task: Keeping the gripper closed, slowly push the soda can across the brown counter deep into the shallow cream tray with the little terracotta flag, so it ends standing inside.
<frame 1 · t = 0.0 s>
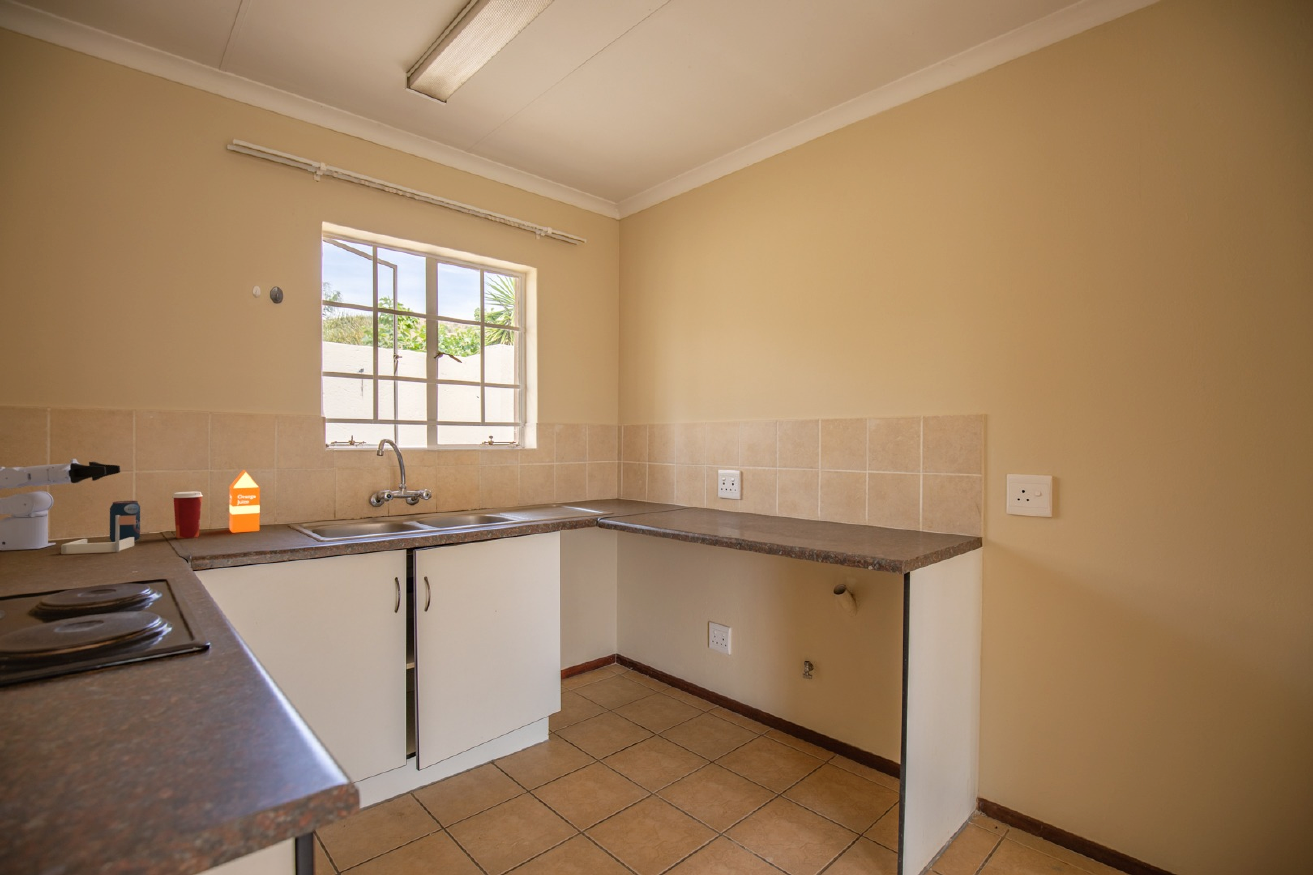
hand: (112, 469, 182), 22 cm above the countertop, tool horizontal, fingers open, 7 cm apart
orange juice: (244, 530, 211), on the countertop
shallow cream tray: (101, 549, 174), on the countertop
soda can: (125, 542, 187), on the countertop
paper cup: (187, 537, 196), on the countertop
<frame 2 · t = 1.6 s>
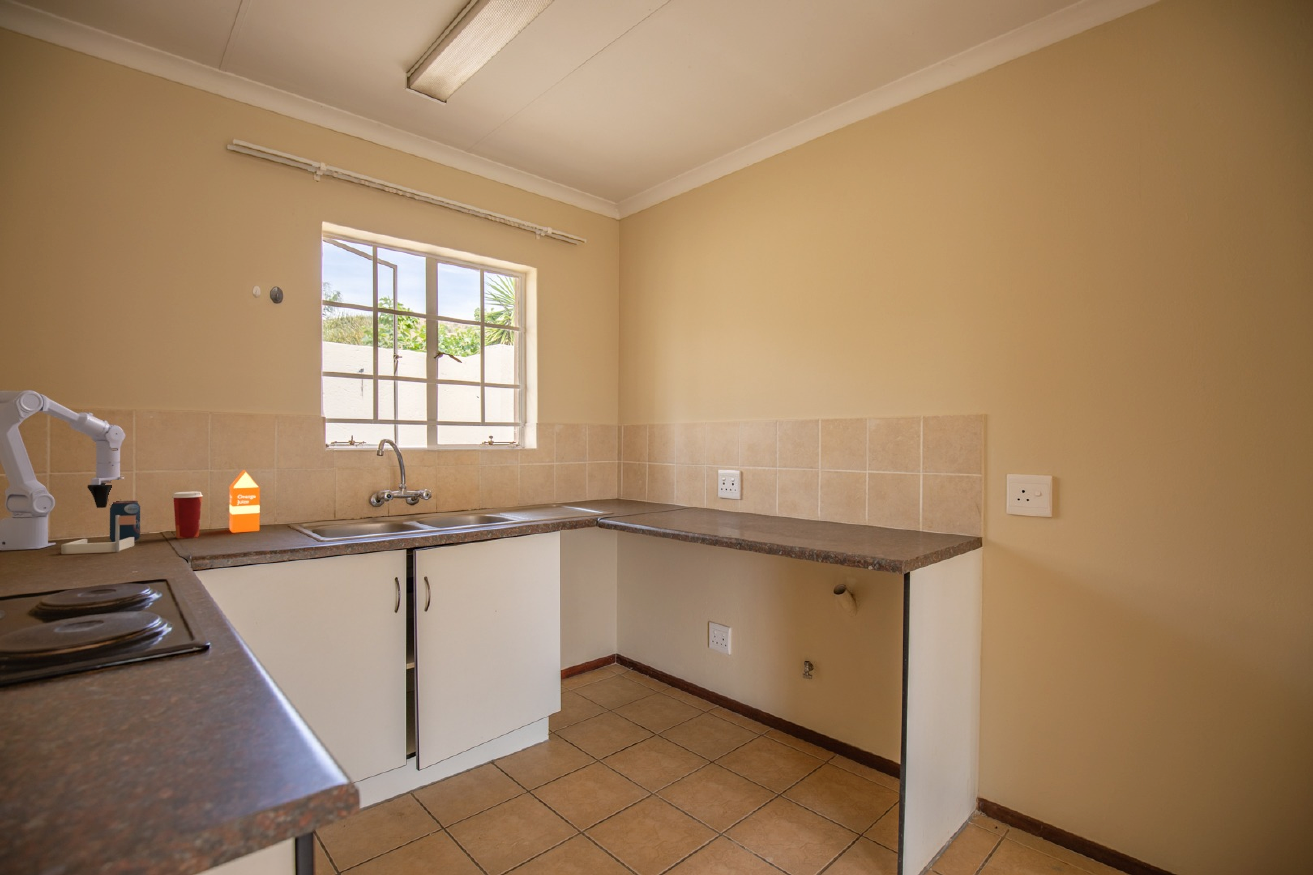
hand: (108, 506, 196), 9 cm above the countertop, tool pointing down, fingers open, 7 cm apart
nothing on the countertop moved.
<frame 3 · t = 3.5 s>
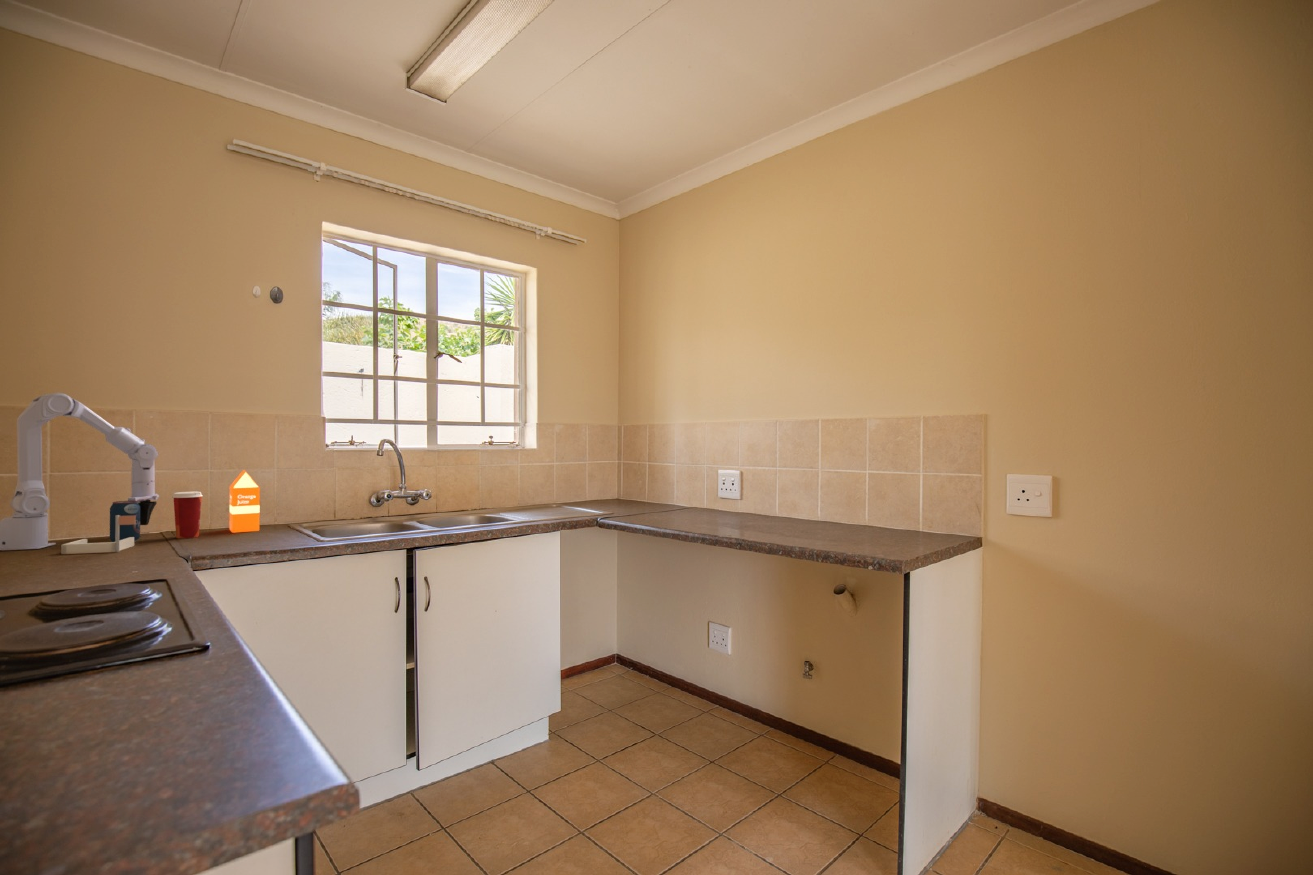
hand: (143, 524, 197), 3 cm above the countertop, tool pointing down, fingers closed
nothing on the countertop moved.
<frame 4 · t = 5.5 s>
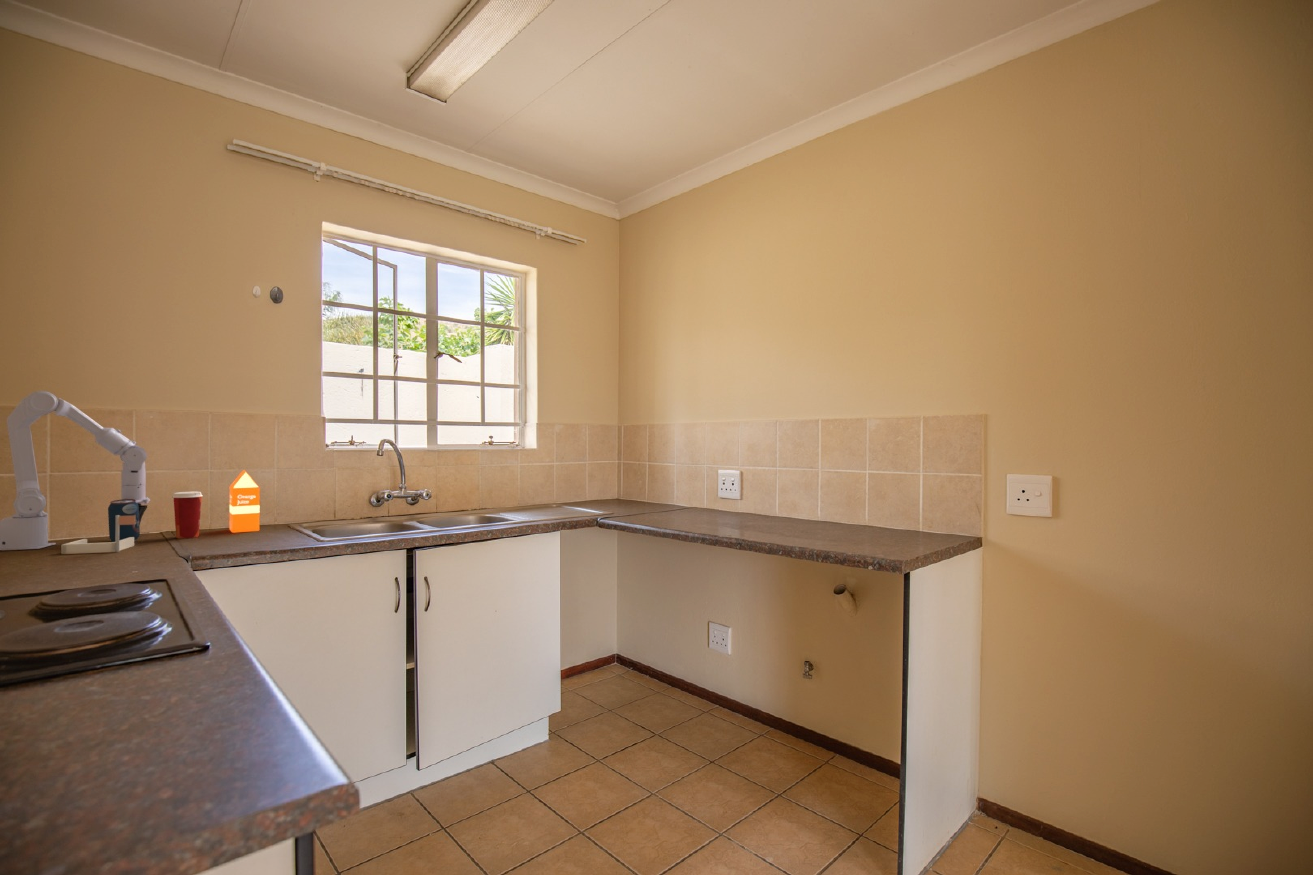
hand: (133, 529, 191), 3 cm above the countertop, tool pointing down, fingers closed
soda can: (125, 541, 187), on the countertop, touching gripper
everything else where it was.
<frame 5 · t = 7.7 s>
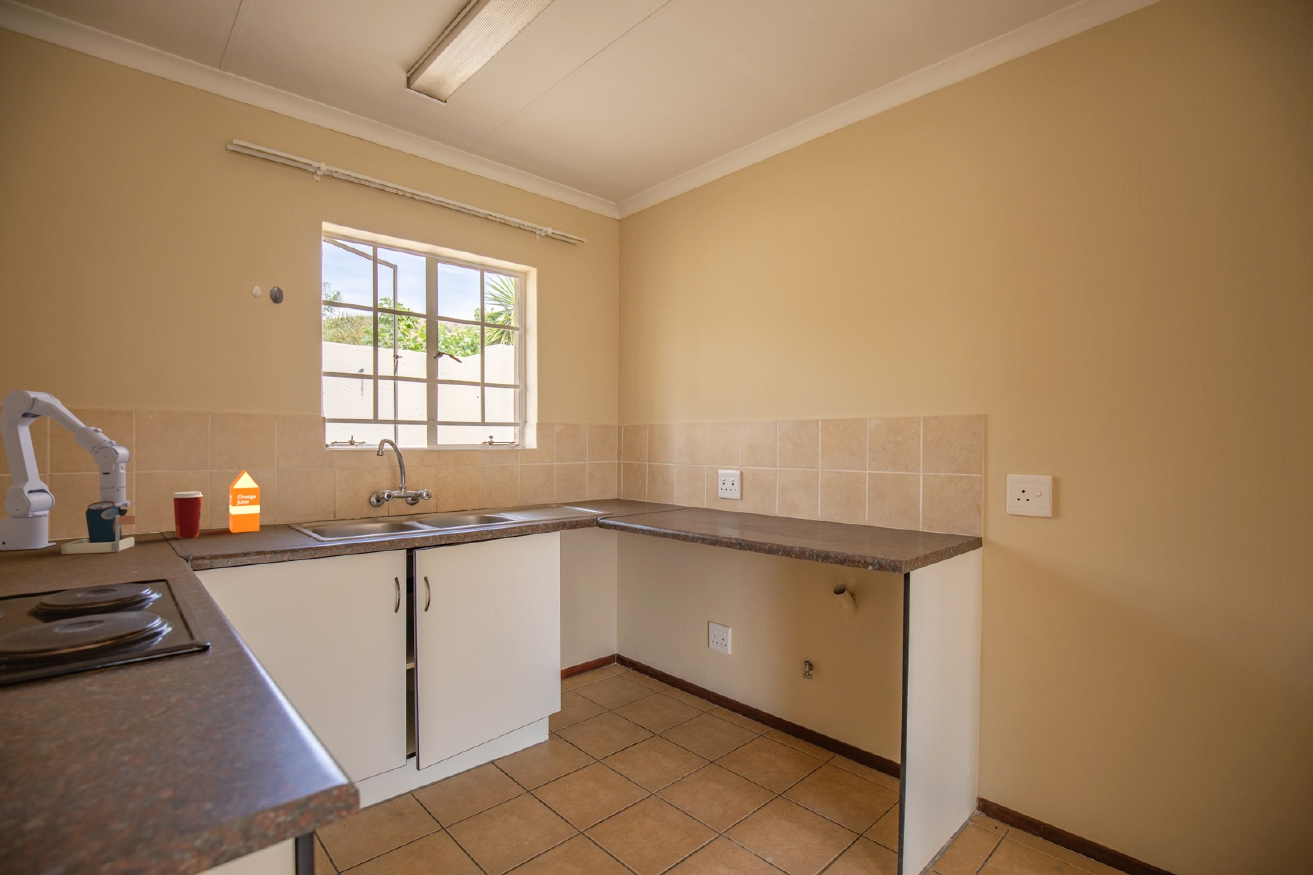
hand: (113, 534, 180), 3 cm above the countertop, tool pointing down, fingers closed, pressing on soda can
soda can: (107, 545, 177), point 1 cm above the countertop, touching gripper
everything else where it was.
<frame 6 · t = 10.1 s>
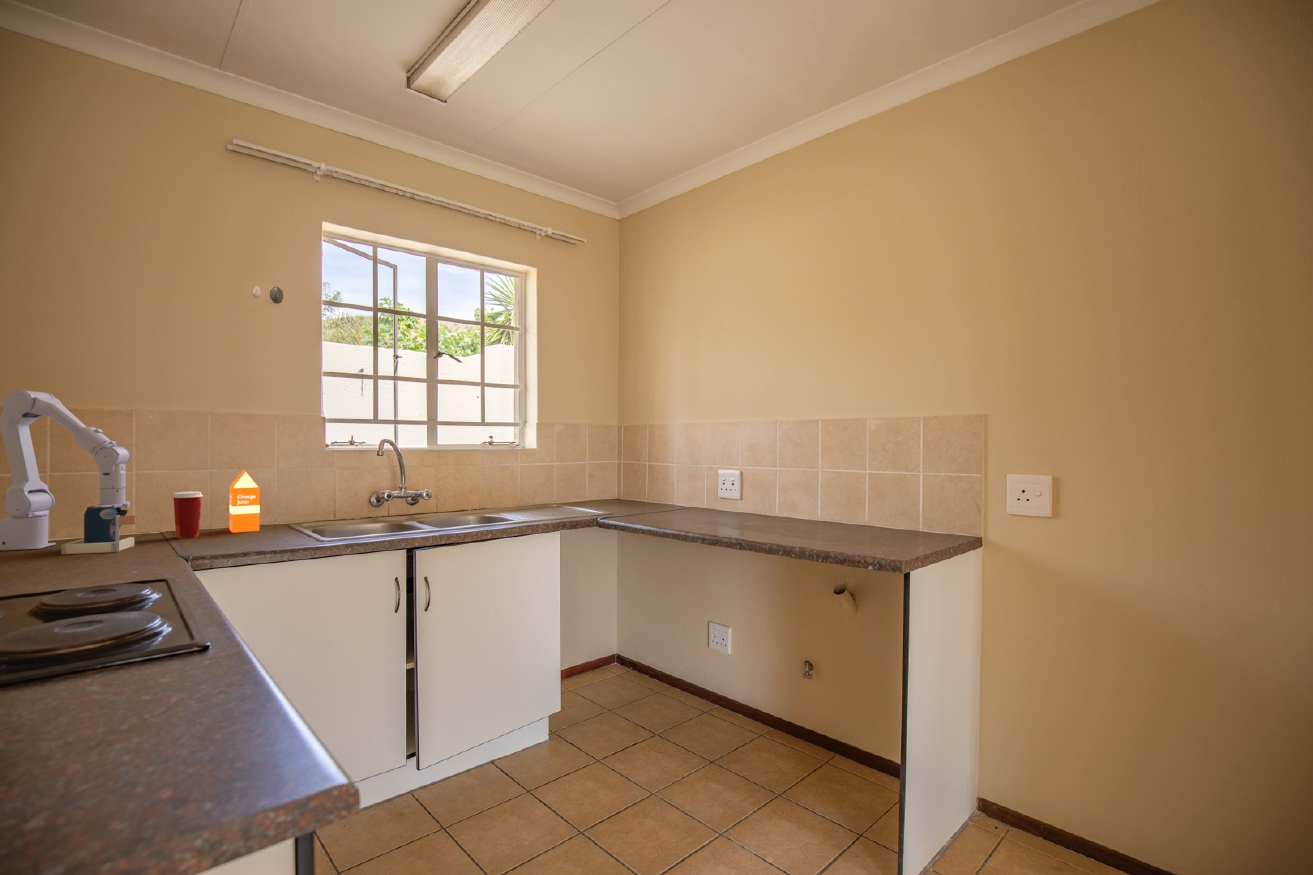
hand: (112, 535, 180), 3 cm above the countertop, tool pointing down, fingers closed
soda can: (100, 550, 174), resting in shallow cream tray
everything else where it was.
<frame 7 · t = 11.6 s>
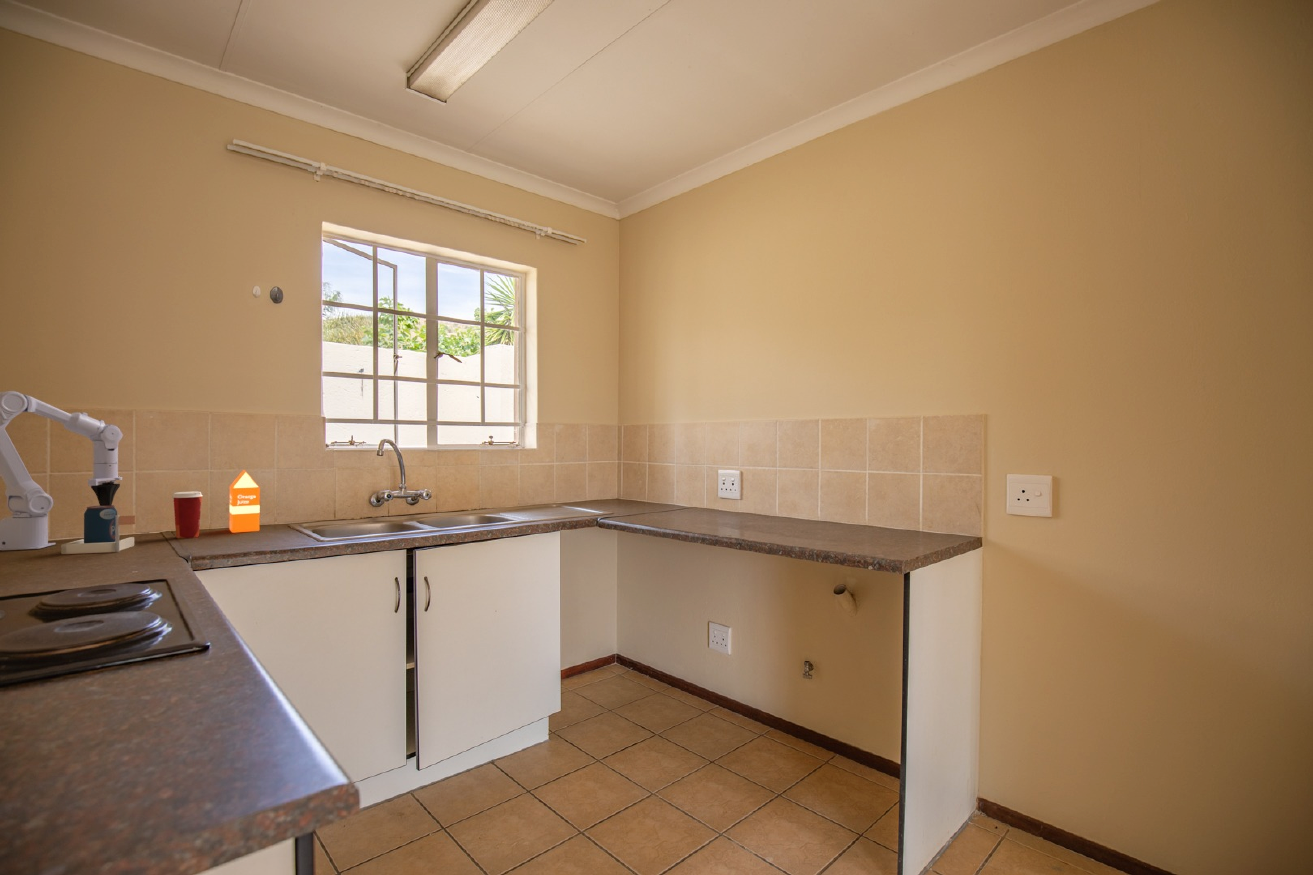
hand: (105, 507, 193), 9 cm above the countertop, tool pointing down, fingers closed
nothing on the countertop moved.
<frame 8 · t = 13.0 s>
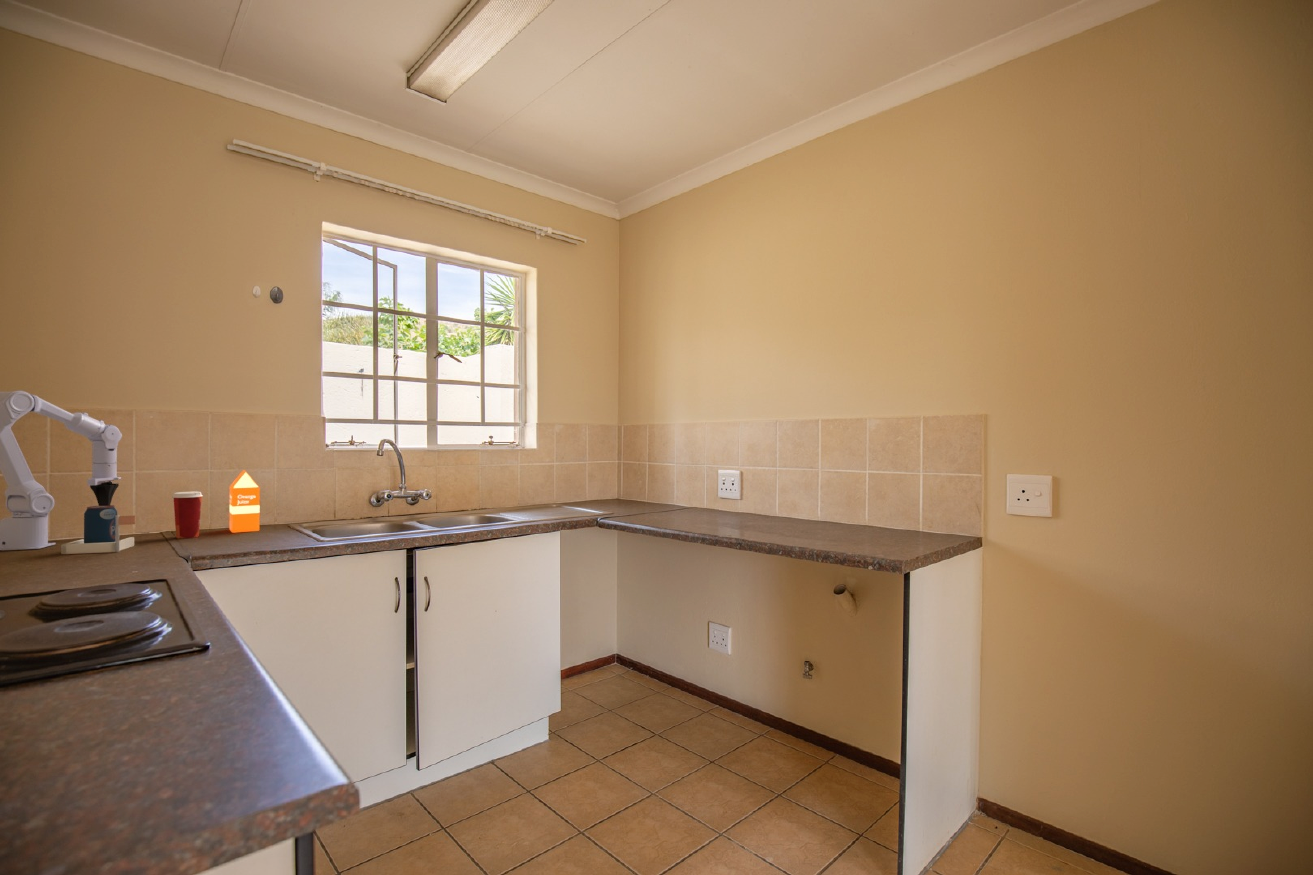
hand: (104, 507, 194), 9 cm above the countertop, tool pointing down, fingers closed
nothing on the countertop moved.
at the end: soda can 1.3 cm from the target spot on the shallow cream tray, point 0.0 cm above the shallow cream tray's base; soda can tilted 0° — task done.
